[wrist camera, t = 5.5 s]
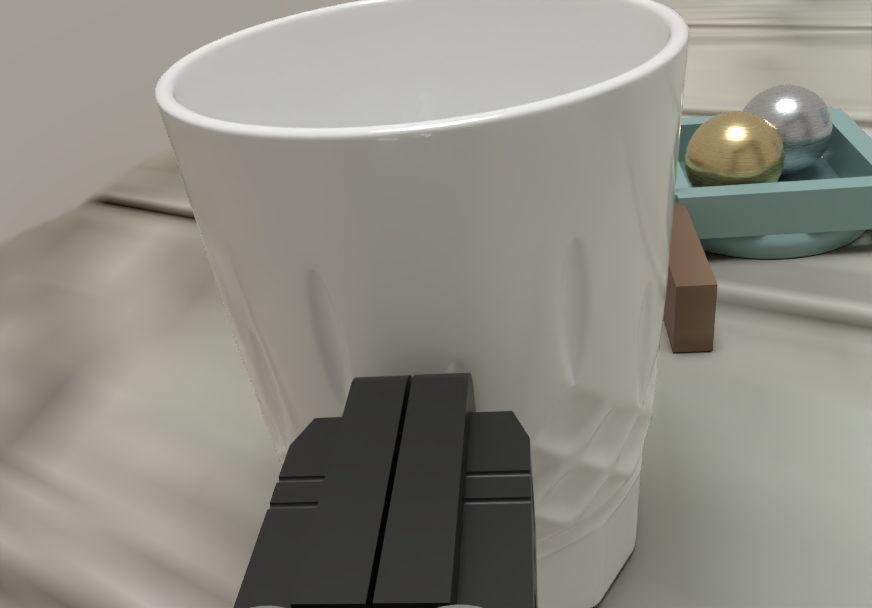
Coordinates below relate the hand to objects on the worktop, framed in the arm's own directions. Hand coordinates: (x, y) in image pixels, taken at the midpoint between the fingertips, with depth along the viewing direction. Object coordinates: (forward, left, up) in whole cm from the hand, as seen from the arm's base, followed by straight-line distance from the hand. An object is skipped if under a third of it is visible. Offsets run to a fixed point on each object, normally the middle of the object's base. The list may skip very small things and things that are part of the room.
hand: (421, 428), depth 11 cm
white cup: (0, -4, -6) cm, 8 cm away
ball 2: (-10, -20, -4) cm, 22 cm away
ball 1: (-8, -17, -4) cm, 19 cm away
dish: (-9, -18, -6) cm, 21 cm away
